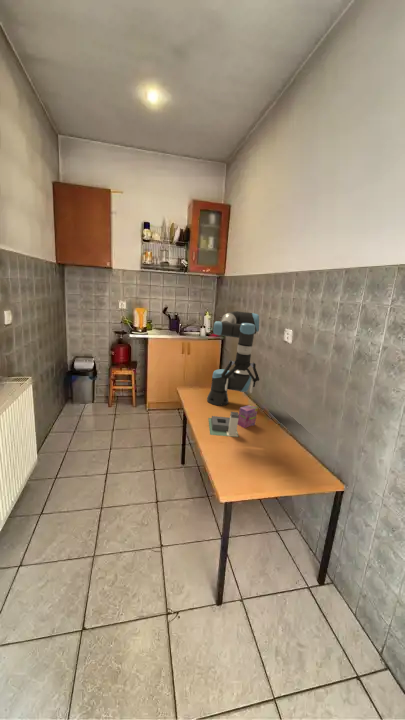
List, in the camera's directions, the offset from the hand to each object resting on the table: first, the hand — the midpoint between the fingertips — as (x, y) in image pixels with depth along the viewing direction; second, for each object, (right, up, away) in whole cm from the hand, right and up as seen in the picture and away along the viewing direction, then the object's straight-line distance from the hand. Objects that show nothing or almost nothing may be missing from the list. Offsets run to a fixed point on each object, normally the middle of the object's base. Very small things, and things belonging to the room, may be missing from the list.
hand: (238, 391), depth 160 cm
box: (+7, -23, +20) cm, 31 cm away
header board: (-8, -23, +13) cm, 27 cm away
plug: (-3, -24, +6) cm, 25 cm away
